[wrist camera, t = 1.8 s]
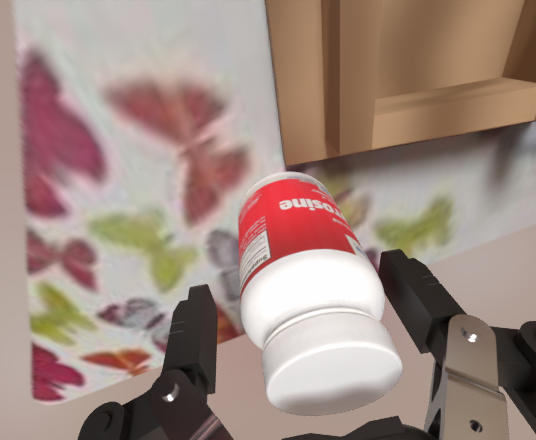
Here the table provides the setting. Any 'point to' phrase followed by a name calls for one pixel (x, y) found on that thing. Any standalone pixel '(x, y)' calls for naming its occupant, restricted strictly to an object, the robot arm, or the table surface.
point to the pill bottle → (311, 300)
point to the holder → (398, 71)
